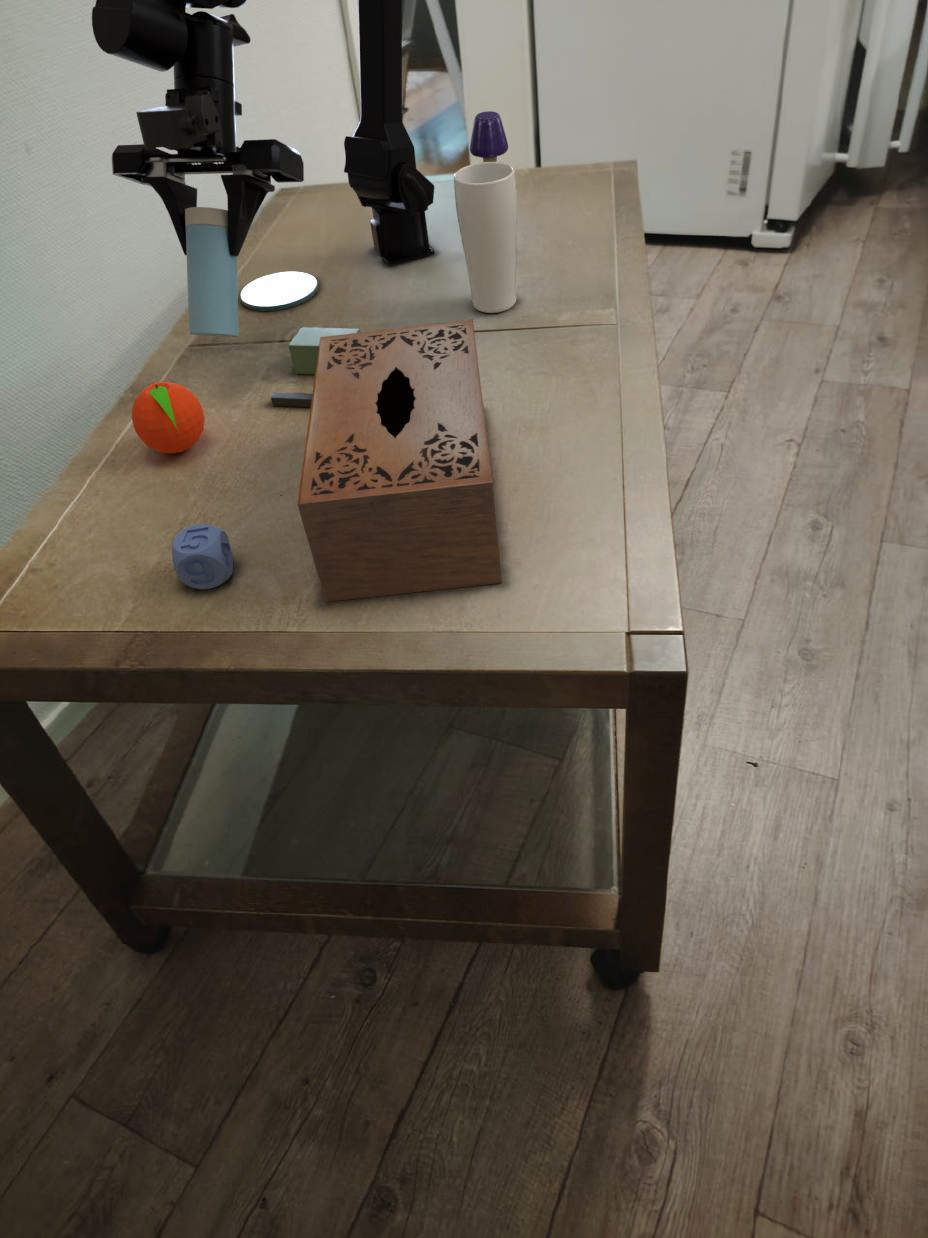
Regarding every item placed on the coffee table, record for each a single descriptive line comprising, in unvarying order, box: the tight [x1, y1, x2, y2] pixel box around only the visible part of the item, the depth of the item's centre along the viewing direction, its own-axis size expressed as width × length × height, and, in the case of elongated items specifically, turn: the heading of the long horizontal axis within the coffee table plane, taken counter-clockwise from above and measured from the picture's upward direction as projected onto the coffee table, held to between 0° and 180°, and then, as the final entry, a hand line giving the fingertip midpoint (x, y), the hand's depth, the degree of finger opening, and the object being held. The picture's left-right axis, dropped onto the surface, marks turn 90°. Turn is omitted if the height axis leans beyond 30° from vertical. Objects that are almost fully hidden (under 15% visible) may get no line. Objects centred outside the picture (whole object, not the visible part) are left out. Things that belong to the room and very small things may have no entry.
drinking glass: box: [453, 161, 518, 314], centre depth 102 cm, size 7×7×15 cm
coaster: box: [239, 271, 319, 312], centre depth 115 cm, size 10×10×1 cm
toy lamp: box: [469, 110, 509, 163], centre depth 111 cm, size 5×5×17 cm
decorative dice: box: [171, 523, 234, 590], centre depth 75 cm, size 4×4×4 cm
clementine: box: [131, 381, 206, 454], centre depth 89 cm, size 8×7×7 cm
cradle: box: [270, 327, 361, 408], centre depth 97 cm, size 11×7×4 cm, turn 166°
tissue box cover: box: [296, 318, 503, 603], centre depth 78 cm, size 26×14×10 cm, turn 3°
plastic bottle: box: [185, 206, 240, 338], centre depth 92 cm, size 12×5×12 cm, turn 165°
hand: (211, 255), depth 92 cm, fingers closed on plastic bottle, 5 cm apart
